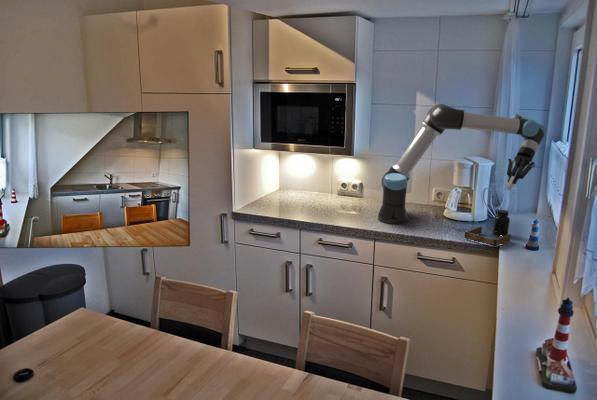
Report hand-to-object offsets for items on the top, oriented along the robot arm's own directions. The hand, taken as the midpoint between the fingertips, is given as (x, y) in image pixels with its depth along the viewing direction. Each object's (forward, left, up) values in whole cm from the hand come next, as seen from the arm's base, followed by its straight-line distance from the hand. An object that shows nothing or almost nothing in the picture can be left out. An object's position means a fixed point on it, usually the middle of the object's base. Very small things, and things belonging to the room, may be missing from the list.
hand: (508, 188), depth 228 cm
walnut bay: (+4, -23, -21) cm, 31 cm away
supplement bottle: (+4, -11, -21) cm, 24 cm away
